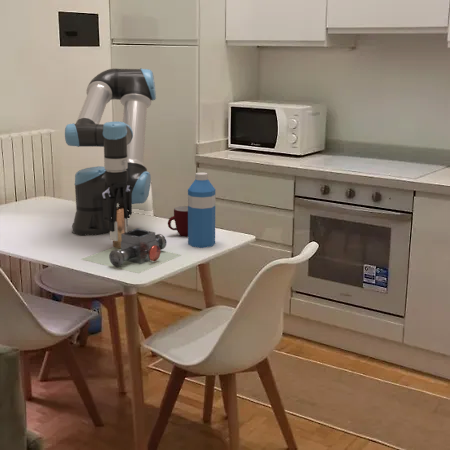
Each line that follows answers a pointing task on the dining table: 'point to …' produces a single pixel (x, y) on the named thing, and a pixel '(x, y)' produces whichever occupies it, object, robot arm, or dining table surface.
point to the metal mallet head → (138, 247)
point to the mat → (130, 266)
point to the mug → (180, 220)
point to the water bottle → (201, 212)
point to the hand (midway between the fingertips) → (118, 238)
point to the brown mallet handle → (119, 226)
